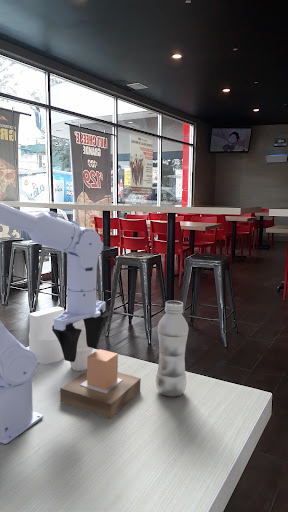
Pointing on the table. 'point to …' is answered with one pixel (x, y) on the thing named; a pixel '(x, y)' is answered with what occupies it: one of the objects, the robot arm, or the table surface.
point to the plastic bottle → (172, 350)
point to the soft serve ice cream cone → (81, 349)
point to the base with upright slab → (45, 335)
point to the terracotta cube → (102, 369)
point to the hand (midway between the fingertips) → (81, 353)
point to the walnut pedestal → (100, 394)
